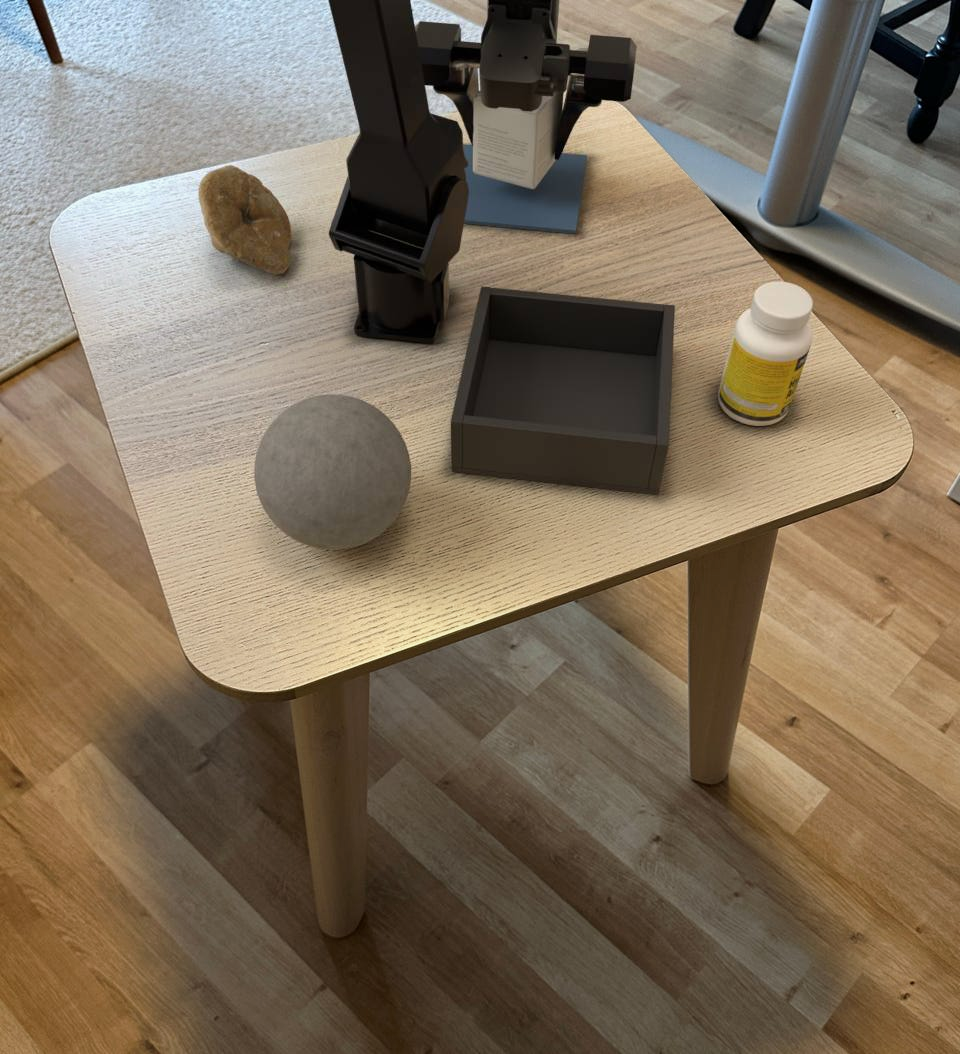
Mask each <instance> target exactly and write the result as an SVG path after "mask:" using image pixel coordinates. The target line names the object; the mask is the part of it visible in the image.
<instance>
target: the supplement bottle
mask: <svg viewBox="0 0 960 1054" xmlns="http://www.w3.org/2000/svg"><path fill="white" fill-rule="evenodd" d="M813 307H814V301H813V298H812V296H811V294H809V292H808V291H807V290H805V289H804V288H803V287H801V286H800V285H797V284H796V283H795V284H794V283H791V282H787V281H770V282H767V283H766V282H765V283H764V284H761V285H760V286H759V287H758V288H757V289H756V290H755V291H754V294H753V297H752V300H751V304H750V308H748V309H746V310H745V311H744V312H742V313H741V314H740V316H738V318H737V321H736V323H735V326H734V330H733V332H732V338H731V341H730V345H729V349H728V352H727V356H726V361H725V364H724V367H723V372H722V375H721V378H720V383H719V387H718V391H717V401H718V404H719V405H720V408H721V409H722V411H723V412H724V413H725V414H726V415H727V416H728V417H730V418H731V419H733V420H735V421H736V422H738V423H741V424H744V425H749V426H757V427H763V426H771V425H774V424H776V423H779V422H781V420H783V419H784V418H785V417H786V416H787V414H788V413H789V411H790V408H791V406H792V403H793V400H794V397H795V393H796V392H797V391H796V390H797V388H798V384H799V382H800V378H801V376H802V373H803V369H804V367H805V363H806V361H807V358H808V355H809V353H810V350H811V346H812V343H813V342H812V341H813V330H812V327H811V325H810V323H809V320H810V318H811V313H812V311H813Z"/></svg>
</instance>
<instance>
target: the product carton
mask: <svg viewBox="0 0 960 1054" xmlns="http://www.w3.org/2000/svg"><path fill="white" fill-rule="evenodd" d="M564 94H565V92H555V93H554V95H553V97H551V96H542V101H541V105H540V106H539V108H537V109H536V110H534V111H522V110H520V109H514V108H503V107H499V108H497V109H493V108H488V107H486V106H484V105H483V104H482V102H481V95H480V90H479V92H478V93H477V94H476V95H475V96H474V116H473V172H474V173H475V174H478V175H482V176H485V177H489V178H492V179H496V180H500V181H504V182H508V183H511V184H515V185H519V186H522V187H526V188H530V189H535V188H536V186H537V185H538V184H539V182H540V181H541V180H542V178H543V177H544V175H545V174H546V173H547V171H548V170H549V169H550V167H551V166H552V164H553V163H554V162H555V159H554V157H555V145H556V139H557V134H558V129H559V124H560V120H561V115H562V110H563V106H564V96H565V95H564Z"/></svg>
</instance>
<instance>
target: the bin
mask: <svg viewBox="0 0 960 1054" xmlns="http://www.w3.org/2000/svg"><path fill="white" fill-rule="evenodd" d="M675 312H676V305H674V304H665V303H664V304H663V303H652V302H644V301H643V302H642V301H633V300H621V299H611V298H601V297H594V296H593V297H591V296H581V295H571V294H562V293H551V292H541V291H533V290H531V291H530V290H522V289H511V288H499V287H491V286H481V287H480V290H479V294H478V300H477V303H476V308H475V312H474V317H473V322H472V325H471V330H470V334H469V339H468V343H467V347H466V351H465V356H464V359H463V360H464V361H463V365H462V370H461V373H460V378H459V383H458V388H457V390H456V391H457V392H456V397H455V401H454V405H453V409H452V414H451V417H450V467H451V469H450V470H451V472H454V473H460V474H470V475H479V476H486V477H487V476H488V477H495V478H505V479H515V480H524V481H533V482H540V483H541V482H542V483H550V484H559V485H566V486H568V485H569V486H575V487H576V486H577V487H586V488H594V489H602V490H610V491H611V490H612V491H621V492H629V493H638V494H647V495H657V496H658V495H659V493H660V489H661V485H662V479H663V475H664V469H665V466H666V460H667V455H668V451H669V446H670V428H671V427H670V426H671V406H672V405H671V404H672V381H673V378H672V377H673V362H674V361H673V358H674V356H673V355H674V340H675V339H674V338H675V337H674V335H675V317H676V316H675V315H676V313H675Z"/></svg>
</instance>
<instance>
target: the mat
mask: <svg viewBox="0 0 960 1054" xmlns="http://www.w3.org/2000/svg"><path fill="white" fill-rule="evenodd" d="M463 151H464V155H465V158H466V160H467V161H468V166H467V167H466V168H464V170H465V174H466V181H467V183H468V187H469V196H468V203H467V209H466V215H465V221H464V225H475V226H485V227H486V226H487V227H497V228H508V229H517V230H527V231H540V232H549V233H550V232H552V233H559V234H560V233H561V234H571V235H572V234H573V235H576V234H577V229H578V221H579V215H580V208H581V201H582V196H583V195H582V194H583V189H584V181H585V174H586V166H587V161H588V160H587V159H588V155H587V154H579V153H568V152H567V153H566V152H562V154H561V156H560V158H559V160H555V162H554V163H553V164H552V166H551V167H550V169H549V170H548V171H547V173H546V174H545V175H544V177H543V178H542V180H541V181H540V182H539V184H538V185H537V186H536V188H535V189H530V188H526V187H522V186H519V185H515V184H511V183H508V182H504V181H500V180H496V179H492V178H489V177H485V176H482V175H478V174H475V173H474V172H473V147H472V144H466V143H465V144H464V143H463Z"/></svg>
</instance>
